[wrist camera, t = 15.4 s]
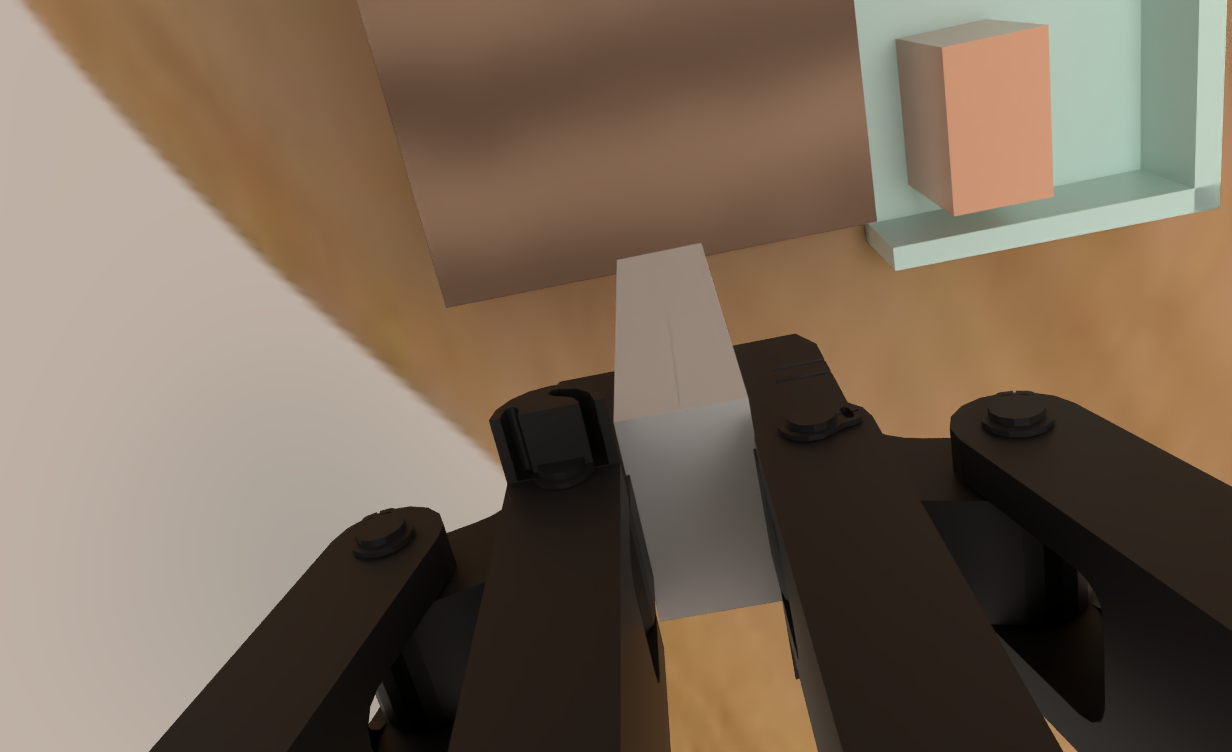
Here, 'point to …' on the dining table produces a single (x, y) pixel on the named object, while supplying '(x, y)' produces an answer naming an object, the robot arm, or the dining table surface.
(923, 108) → the terracotta tile
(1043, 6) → the tray
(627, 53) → the plate
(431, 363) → the dining table surface
